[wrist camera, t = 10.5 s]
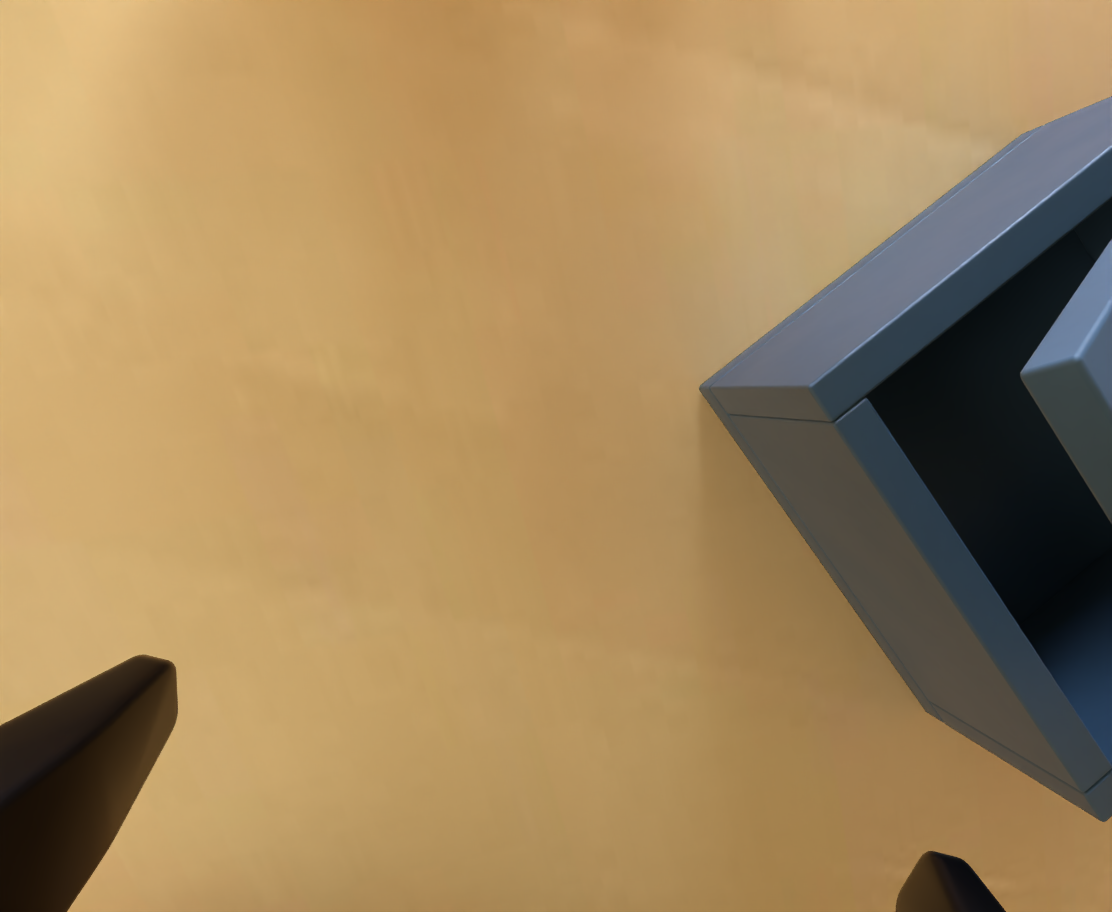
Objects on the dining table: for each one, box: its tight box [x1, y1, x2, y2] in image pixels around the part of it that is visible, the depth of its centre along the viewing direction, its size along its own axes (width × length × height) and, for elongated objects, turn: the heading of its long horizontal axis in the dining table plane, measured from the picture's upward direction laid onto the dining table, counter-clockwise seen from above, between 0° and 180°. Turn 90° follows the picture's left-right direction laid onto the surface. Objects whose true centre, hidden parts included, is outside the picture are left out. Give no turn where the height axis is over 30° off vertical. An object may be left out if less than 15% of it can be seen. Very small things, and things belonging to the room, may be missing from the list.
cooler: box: [699, 97, 1112, 822], centre depth 21 cm, size 12×12×6 cm
